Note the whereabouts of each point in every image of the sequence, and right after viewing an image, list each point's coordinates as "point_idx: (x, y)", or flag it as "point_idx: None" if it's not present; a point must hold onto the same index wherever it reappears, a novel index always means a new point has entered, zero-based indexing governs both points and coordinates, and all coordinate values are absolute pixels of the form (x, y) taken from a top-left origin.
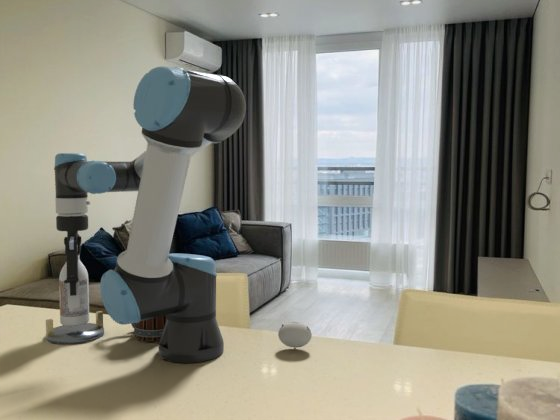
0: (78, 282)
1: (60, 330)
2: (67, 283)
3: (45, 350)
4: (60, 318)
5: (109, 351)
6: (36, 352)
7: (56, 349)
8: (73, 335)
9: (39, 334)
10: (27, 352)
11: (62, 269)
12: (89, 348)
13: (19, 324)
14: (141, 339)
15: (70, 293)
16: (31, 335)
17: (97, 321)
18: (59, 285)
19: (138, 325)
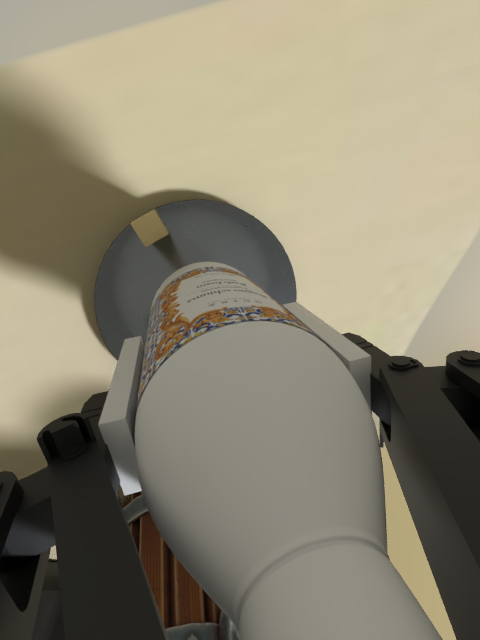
0: (123, 490)
1: (214, 249)
2: (99, 422)
3: (32, 238)
4: (184, 270)
5: (30, 444)
6: (6, 210)
7: (45, 276)
8: (147, 313)
9: (231, 161)
10: (4, 172)
11: (216, 417)
12: (59, 380)
13: (381, 30)
14: (122, 505)
15: (83, 408)
16: (222, 129)
17: None
18: (199, 316)
19: (131, 531)
